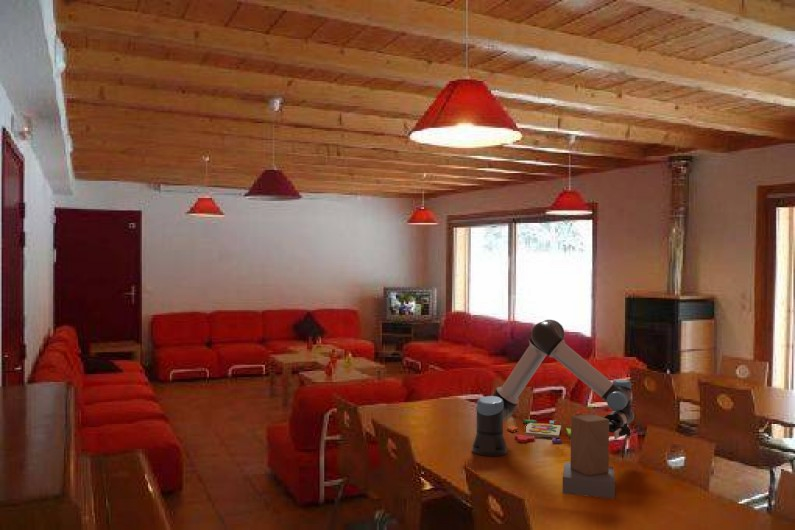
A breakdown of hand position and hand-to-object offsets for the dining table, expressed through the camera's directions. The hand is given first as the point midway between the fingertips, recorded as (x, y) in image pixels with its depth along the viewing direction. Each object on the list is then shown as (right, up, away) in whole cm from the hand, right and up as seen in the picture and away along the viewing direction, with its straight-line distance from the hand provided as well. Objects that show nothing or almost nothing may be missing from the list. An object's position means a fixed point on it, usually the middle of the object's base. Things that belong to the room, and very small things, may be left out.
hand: (597, 432), depth 247 cm
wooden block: (-5, -13, -7) cm, 15 cm away
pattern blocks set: (-6, -19, +69) cm, 72 cm away
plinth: (-6, -19, -8) cm, 21 cm away
